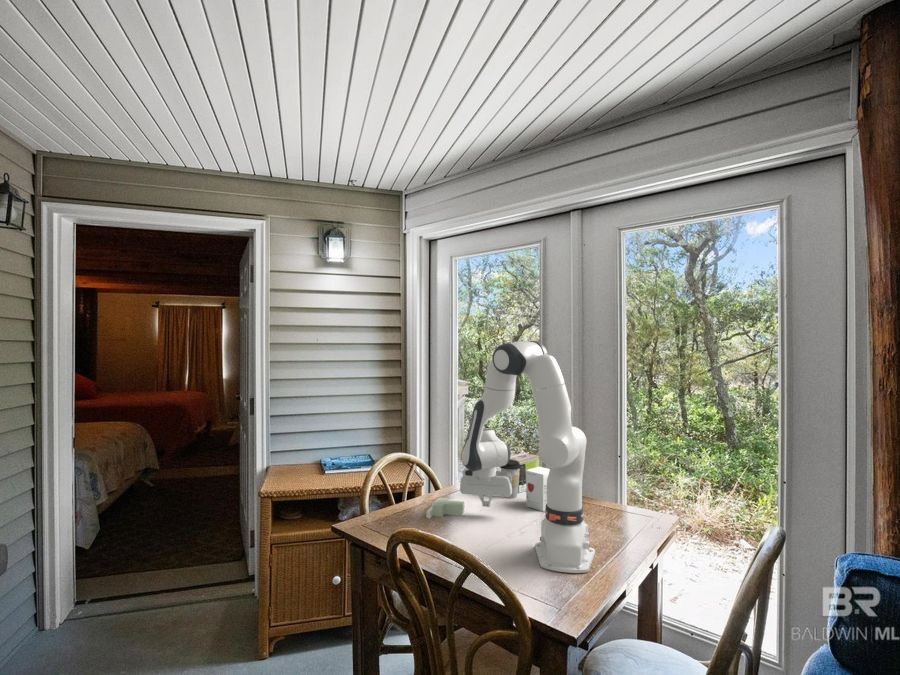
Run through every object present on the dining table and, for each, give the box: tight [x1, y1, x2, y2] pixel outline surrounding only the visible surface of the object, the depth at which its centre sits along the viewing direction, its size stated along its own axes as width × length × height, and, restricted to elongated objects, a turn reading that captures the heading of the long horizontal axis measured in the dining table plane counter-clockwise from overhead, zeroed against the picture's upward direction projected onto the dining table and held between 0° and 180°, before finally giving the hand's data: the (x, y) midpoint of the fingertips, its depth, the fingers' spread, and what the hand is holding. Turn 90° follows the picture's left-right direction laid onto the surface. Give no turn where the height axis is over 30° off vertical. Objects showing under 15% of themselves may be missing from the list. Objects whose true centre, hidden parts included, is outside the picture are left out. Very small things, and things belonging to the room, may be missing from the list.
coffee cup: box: [499, 460, 521, 499], centre depth 204 cm, size 9×9×15 cm
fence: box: [426, 497, 466, 519], centre depth 185 cm, size 16×12×2 cm
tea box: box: [510, 452, 540, 494], centre depth 217 cm, size 15×10×15 cm
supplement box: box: [525, 466, 550, 513], centre depth 191 cm, size 9×9×15 cm
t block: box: [431, 497, 465, 518], centre depth 184 cm, size 10×11×4 cm
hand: (486, 506), depth 181 cm, fingers closed
